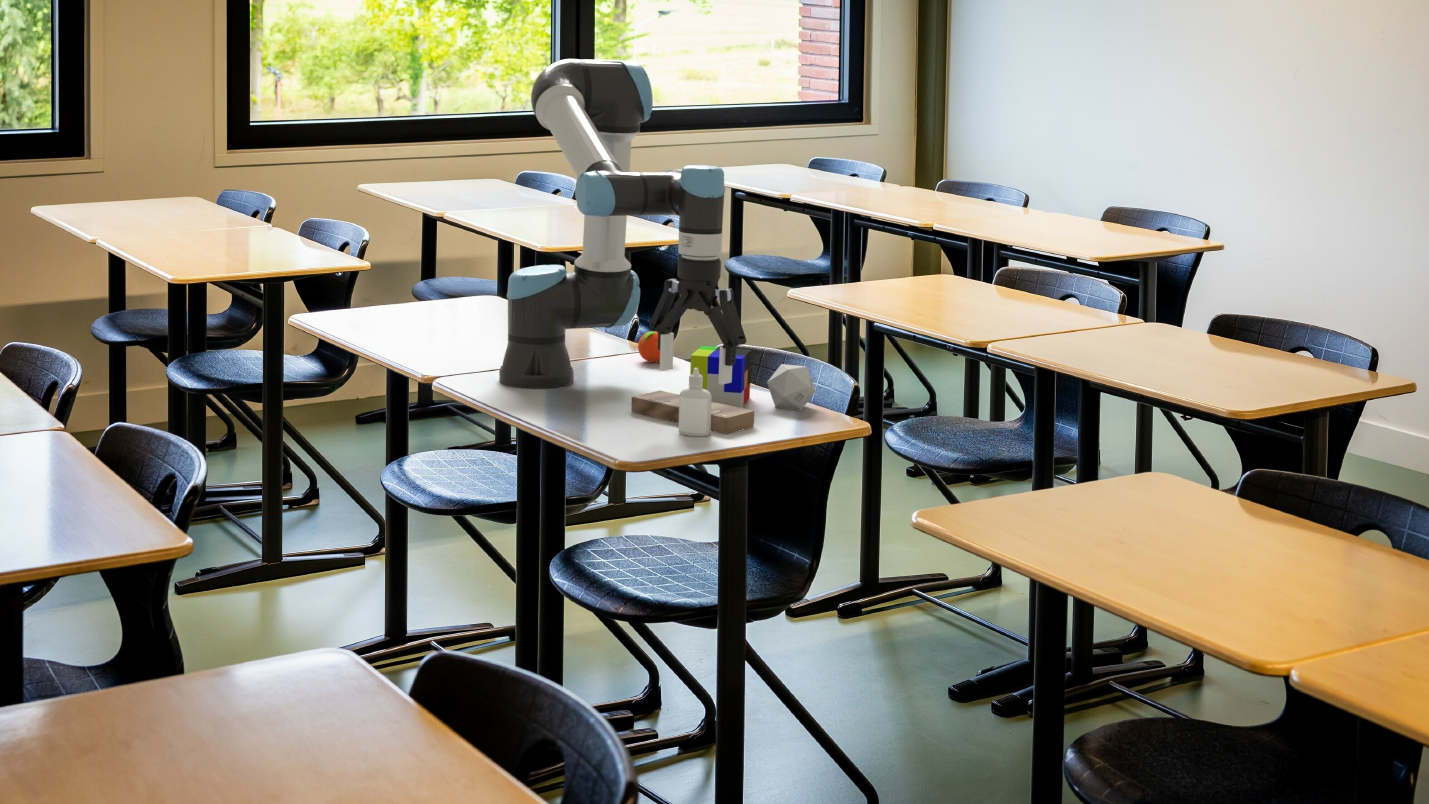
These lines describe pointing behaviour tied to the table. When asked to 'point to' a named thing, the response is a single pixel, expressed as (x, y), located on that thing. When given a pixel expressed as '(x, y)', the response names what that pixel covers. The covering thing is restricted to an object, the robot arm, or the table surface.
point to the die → (791, 386)
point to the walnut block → (668, 409)
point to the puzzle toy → (709, 369)
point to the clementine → (649, 346)
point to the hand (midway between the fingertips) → (695, 376)
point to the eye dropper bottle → (695, 408)
